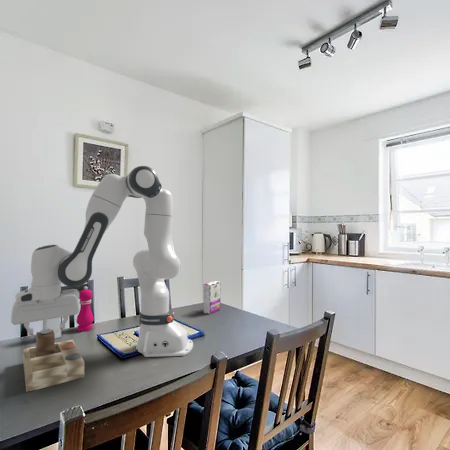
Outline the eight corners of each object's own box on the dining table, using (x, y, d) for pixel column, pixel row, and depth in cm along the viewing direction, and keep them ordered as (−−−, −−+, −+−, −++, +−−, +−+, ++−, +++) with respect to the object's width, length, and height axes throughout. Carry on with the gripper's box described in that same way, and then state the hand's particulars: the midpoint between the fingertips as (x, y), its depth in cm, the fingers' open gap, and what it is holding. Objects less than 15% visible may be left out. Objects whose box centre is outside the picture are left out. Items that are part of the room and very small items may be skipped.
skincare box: (57, 334, 131) (57, 307, 131) (61, 337, 129) (62, 309, 129) (41, 338, 127) (42, 310, 127) (45, 341, 124) (46, 312, 124)
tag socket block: (72, 352, 114) (72, 338, 114) (84, 377, 96) (84, 360, 96) (23, 363, 105) (23, 348, 105) (26, 392, 87) (26, 374, 87)
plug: (52, 357, 107) (52, 326, 107) (54, 362, 103) (54, 331, 103) (36, 361, 104) (36, 329, 104) (37, 366, 100) (37, 333, 100)
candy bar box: (213, 308, 177) (213, 280, 177) (220, 309, 174) (221, 281, 174) (202, 313, 167) (203, 283, 167) (210, 314, 165) (210, 284, 165)
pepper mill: (86, 332, 135) (87, 288, 135) (72, 331, 136) (73, 287, 136) (96, 327, 142) (97, 285, 142) (83, 325, 143) (83, 284, 143)
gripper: (77, 286, 112) (78, 323, 113) (10, 294, 100) (11, 335, 101) (80, 289, 107) (81, 327, 108) (10, 298, 95) (11, 341, 96)
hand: (46, 331), depth 104 cm, fingers open, 8 cm apart
